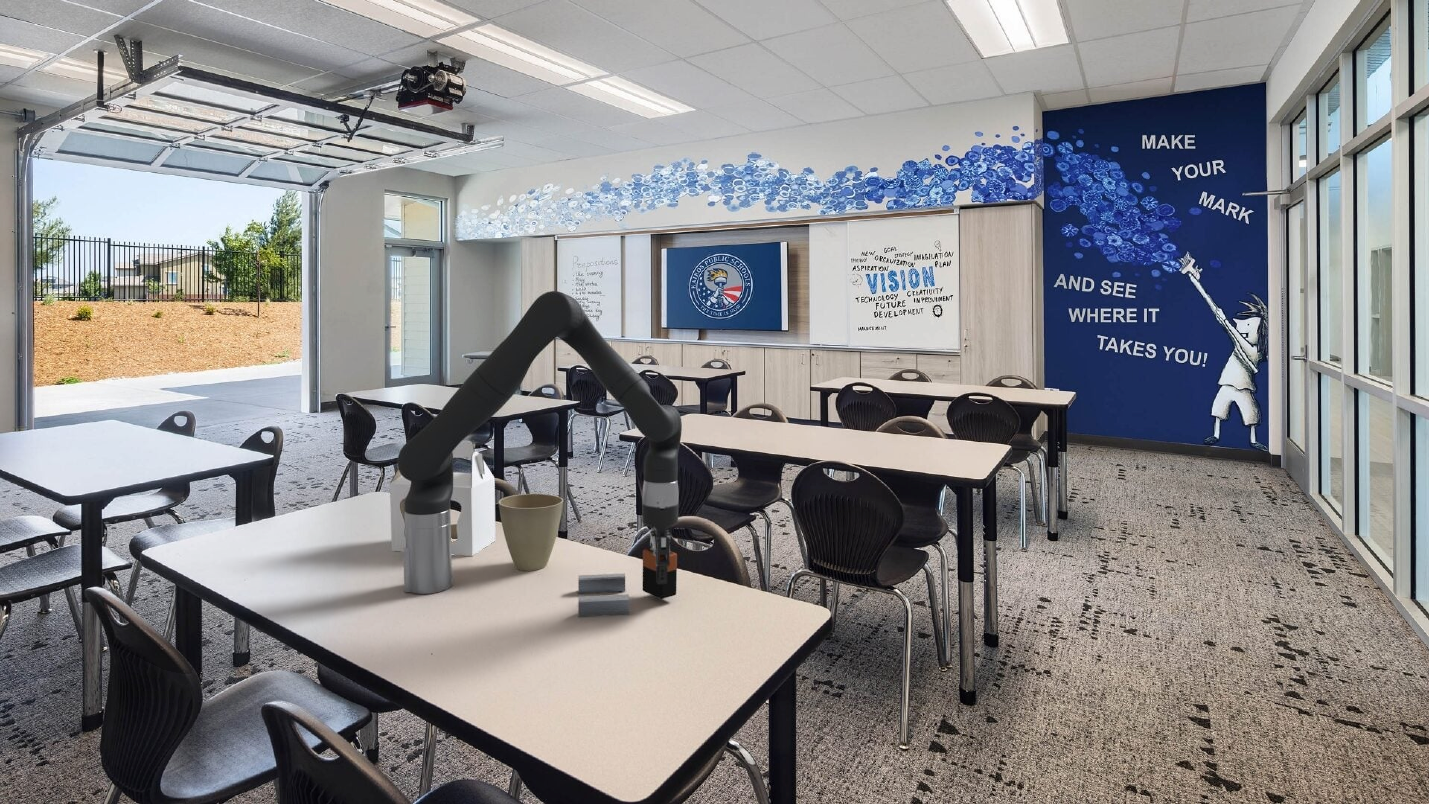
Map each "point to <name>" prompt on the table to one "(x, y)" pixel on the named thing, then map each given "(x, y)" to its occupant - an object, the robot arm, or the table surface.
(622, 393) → the robot arm
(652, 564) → the battery
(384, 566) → the table surface
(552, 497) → the plant pot
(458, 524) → the gable box
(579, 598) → the housing
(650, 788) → the table surface
